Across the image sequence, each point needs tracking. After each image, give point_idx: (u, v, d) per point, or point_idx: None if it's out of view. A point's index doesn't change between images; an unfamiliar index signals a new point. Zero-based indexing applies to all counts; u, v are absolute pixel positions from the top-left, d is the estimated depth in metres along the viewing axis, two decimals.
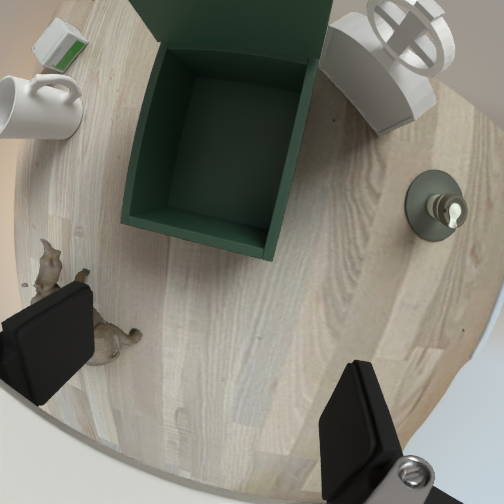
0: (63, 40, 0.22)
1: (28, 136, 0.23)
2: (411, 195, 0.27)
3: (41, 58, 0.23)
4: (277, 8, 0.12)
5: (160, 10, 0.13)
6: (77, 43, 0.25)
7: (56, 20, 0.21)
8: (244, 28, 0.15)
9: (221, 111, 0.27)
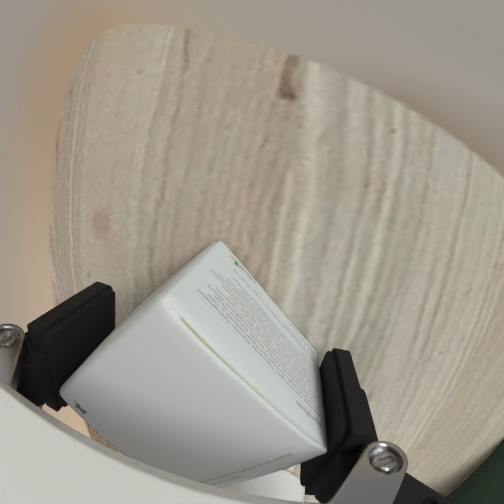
0: (290, 461, 0.06)
1: None
2: None
3: None
4: None
5: None
6: None
7: (182, 333, 0.05)
8: None
9: None
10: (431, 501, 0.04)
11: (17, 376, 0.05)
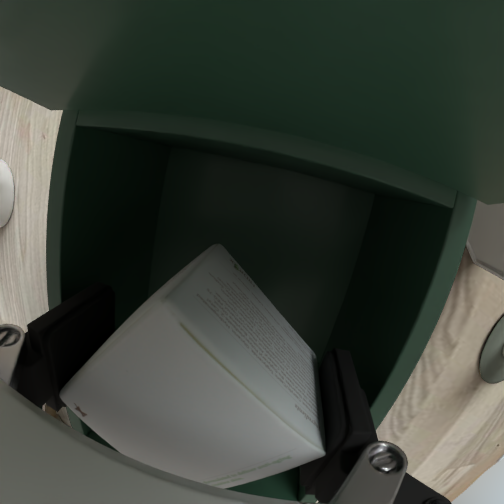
0: (289, 463, 0.06)
1: None
2: (492, 339, 0.15)
3: None
4: None
5: None
6: None
7: (181, 338, 0.05)
8: (312, 89, 0.04)
9: (221, 223, 0.15)
10: (431, 501, 0.04)
11: (17, 376, 0.05)
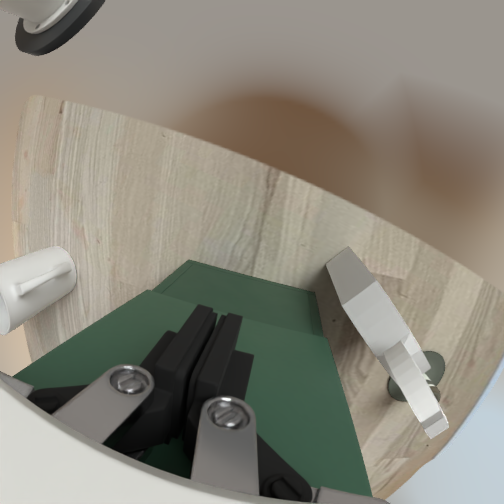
0: None
1: None
2: None
3: None
4: None
5: None
6: None
7: None
8: None
9: None
10: (285, 479, 0.05)
11: (121, 430, 0.05)
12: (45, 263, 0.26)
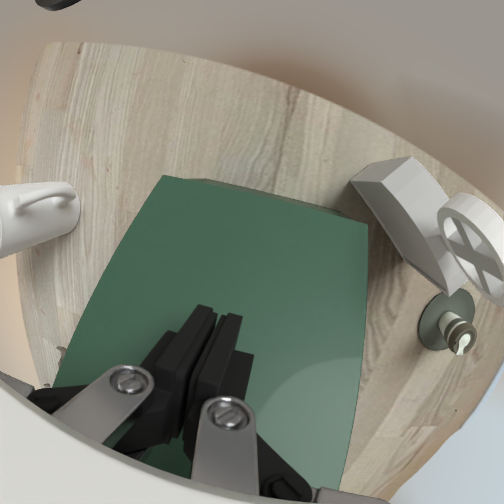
0: None
1: None
2: (426, 314, 0.26)
3: None
4: None
5: None
6: None
7: None
8: None
9: None
10: (285, 479, 0.05)
11: (121, 430, 0.05)
12: None
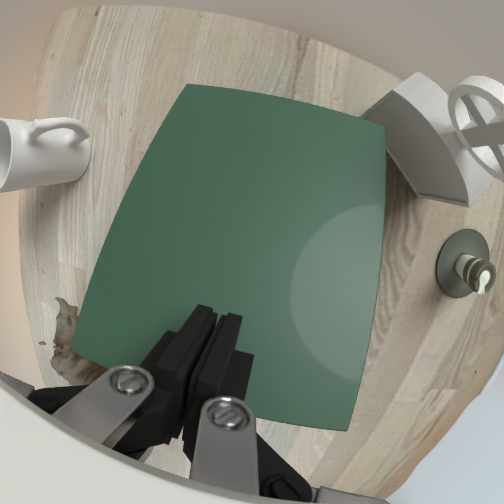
0: None
1: (31, 186, 0.22)
2: (443, 255, 0.26)
3: None
4: None
5: None
6: None
7: None
8: None
9: None
10: (284, 479, 0.05)
11: (121, 431, 0.05)
12: (61, 130, 0.23)
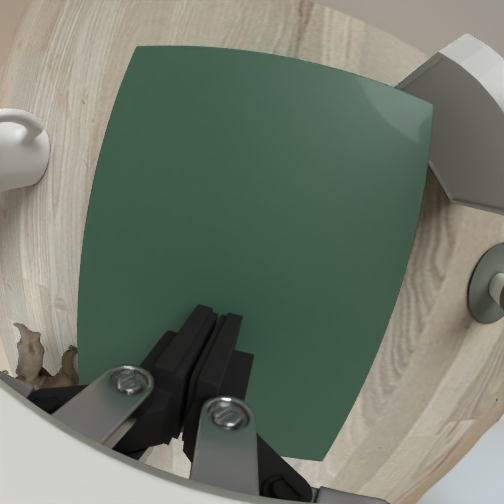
0: None
1: None
2: (476, 275, 0.19)
3: None
4: None
5: None
6: None
7: None
8: None
9: None
10: (284, 479, 0.05)
11: (121, 430, 0.05)
12: (13, 125, 0.16)
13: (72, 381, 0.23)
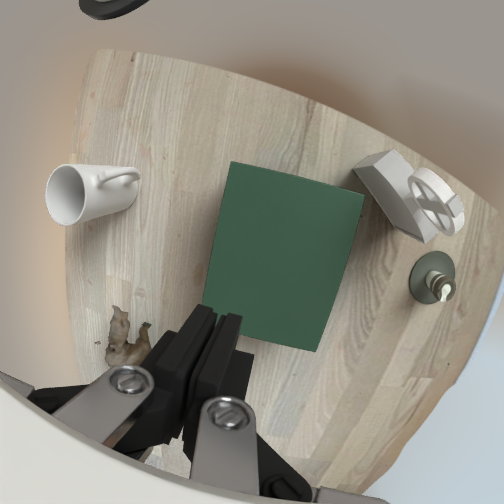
0: None
1: None
2: (415, 272, 0.35)
3: None
4: None
5: None
6: None
7: None
8: None
9: None
10: (284, 479, 0.05)
11: (121, 430, 0.05)
12: None
13: (149, 346, 0.39)
